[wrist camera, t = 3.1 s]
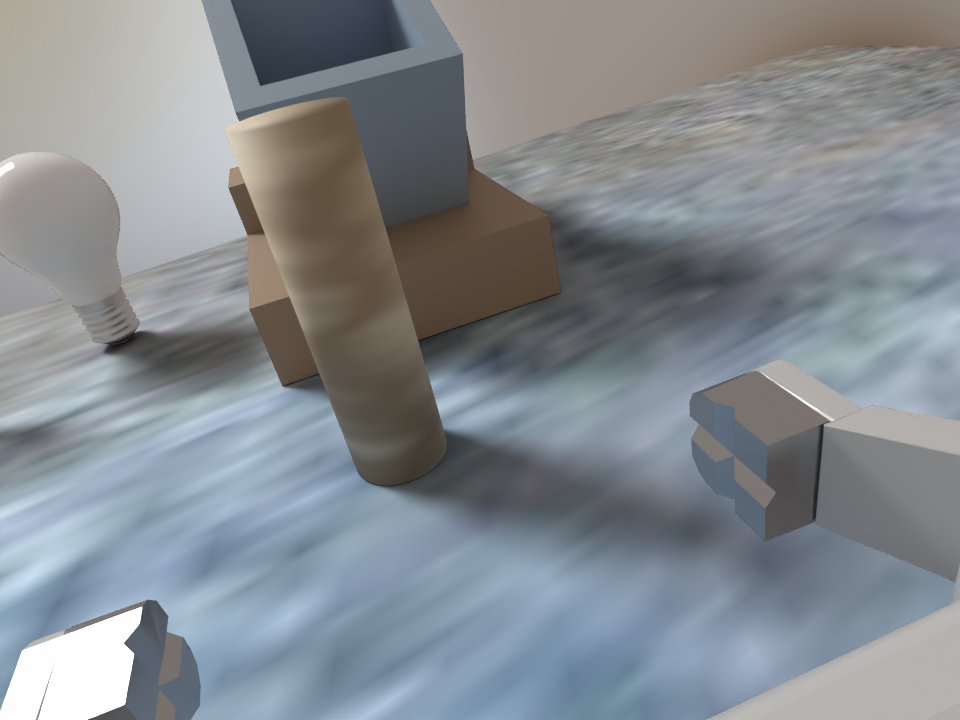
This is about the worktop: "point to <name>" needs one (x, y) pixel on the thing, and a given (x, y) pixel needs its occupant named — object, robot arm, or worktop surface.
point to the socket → (384, 159)
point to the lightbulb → (66, 237)
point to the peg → (343, 282)
